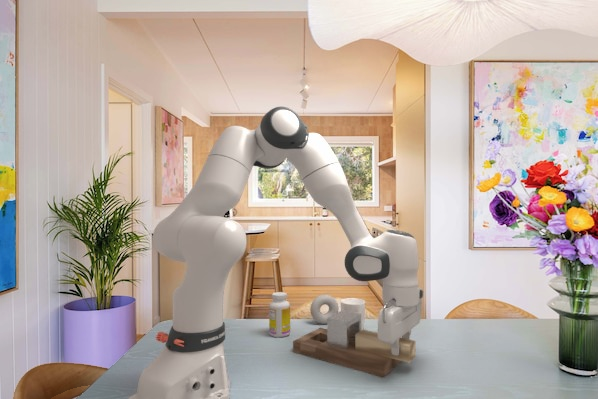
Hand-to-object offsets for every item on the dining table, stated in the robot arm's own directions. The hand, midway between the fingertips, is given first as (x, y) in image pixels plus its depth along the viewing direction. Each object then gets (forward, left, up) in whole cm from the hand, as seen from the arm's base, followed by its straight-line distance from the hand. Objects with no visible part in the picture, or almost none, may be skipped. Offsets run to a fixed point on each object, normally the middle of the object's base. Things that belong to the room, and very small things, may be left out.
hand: (400, 350), depth 97 cm
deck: (0, +15, -5) cm, 16 cm away
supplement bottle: (+2, +41, -5) cm, 41 cm away
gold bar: (0, +4, -2) cm, 4 cm away
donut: (+19, +35, -5) cm, 40 cm away
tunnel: (0, +16, -2) cm, 16 cm away
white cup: (+17, +23, -5) cm, 29 cm away
